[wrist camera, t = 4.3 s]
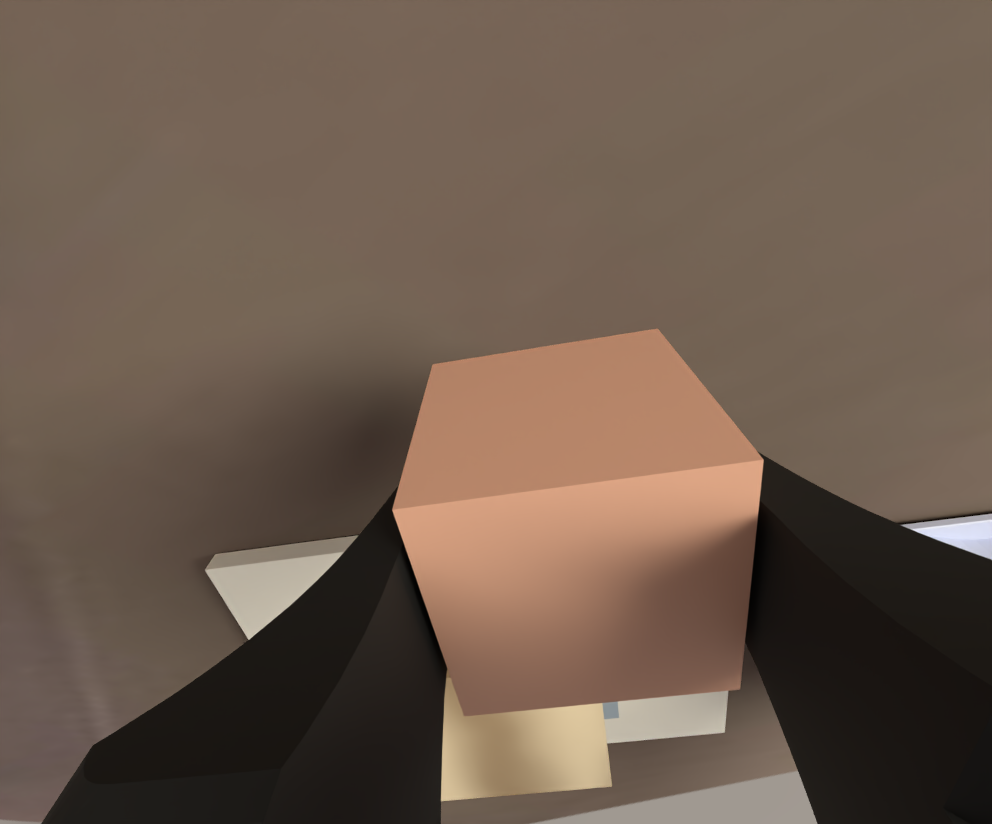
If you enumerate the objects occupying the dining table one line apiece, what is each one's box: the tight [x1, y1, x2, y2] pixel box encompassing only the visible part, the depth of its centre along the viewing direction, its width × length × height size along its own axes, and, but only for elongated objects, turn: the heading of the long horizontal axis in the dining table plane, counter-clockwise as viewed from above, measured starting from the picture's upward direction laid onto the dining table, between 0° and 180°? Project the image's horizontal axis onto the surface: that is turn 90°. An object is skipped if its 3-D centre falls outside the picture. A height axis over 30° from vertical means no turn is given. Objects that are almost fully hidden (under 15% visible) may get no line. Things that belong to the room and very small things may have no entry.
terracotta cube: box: [392, 329, 764, 716], centre depth 10 cm, size 5×5×5 cm
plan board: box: [205, 535, 728, 743], centre depth 24 cm, size 22×16×1 cm
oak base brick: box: [441, 669, 612, 801], centre depth 22 cm, size 9×9×4 cm
